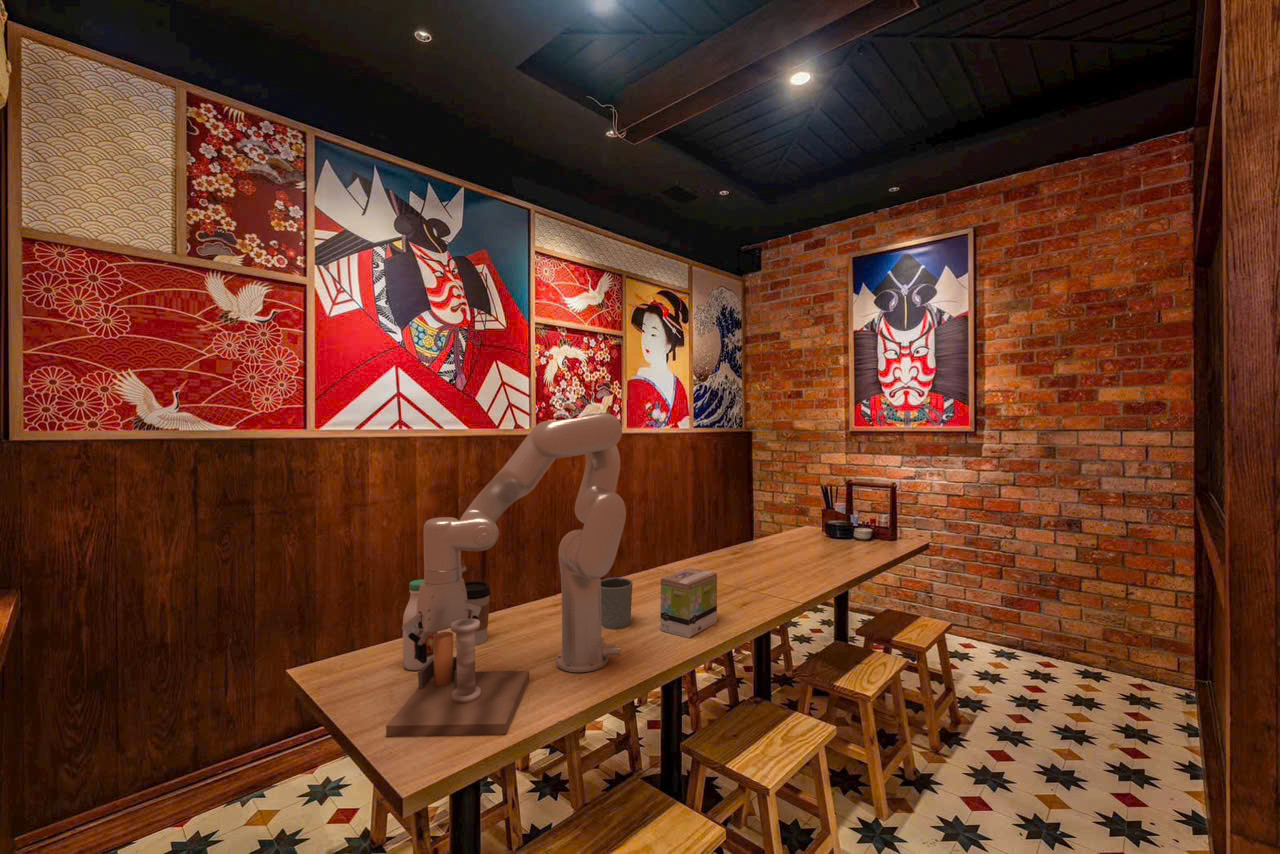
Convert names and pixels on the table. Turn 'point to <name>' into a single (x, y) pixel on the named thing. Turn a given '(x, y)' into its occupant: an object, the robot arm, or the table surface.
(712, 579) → the tea box
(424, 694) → the board
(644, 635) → the table surface
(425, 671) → the notch block
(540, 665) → the table surface
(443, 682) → the plug
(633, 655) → the table surface
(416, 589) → the milk bottle
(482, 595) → the coffee cup
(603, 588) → the grey green embossed cup
